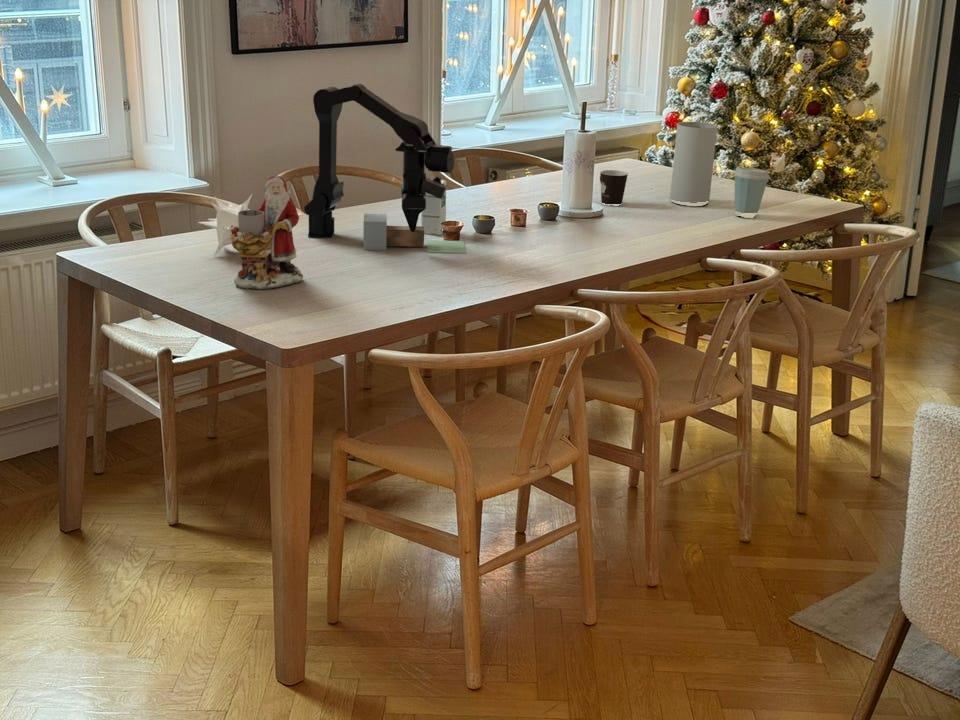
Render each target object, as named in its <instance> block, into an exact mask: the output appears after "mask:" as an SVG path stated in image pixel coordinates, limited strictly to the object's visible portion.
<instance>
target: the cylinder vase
mask: <svg viewBox="0 0 960 720" xmlns="http://www.w3.org/2000/svg"><path fill="white" fill-rule="evenodd" d="M675 133H676V134H675V144H674V154H673V163H672V175H671V185H670V193H669V200H670V199H672V200H675V201H680V202H690V203H697V202H706V201H709V202H710V199H711V198H710V197H711V187H712V178H713V170H714V160H715V152H716V144H717V143H716V142H717V134H718V125H717V124H713V123H710V122H701V121H680V122H678V123H677V124H676V132H675Z"/></svg>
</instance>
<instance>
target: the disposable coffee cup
mask: <svg viewBox="0 0 960 720" xmlns="http://www.w3.org/2000/svg"><path fill="white" fill-rule="evenodd" d="M733 175H734V212H735V211H737V212H741V213H757V212H758V213H759V210H760V207H761V203H762V200H763V197H764V193H765V190H766V187H767V183H768V180H769V179H770V175H769V173H768V171H767V170H765V169H760V168H753V167H736V170H734V173H733ZM758 213H757V214H758Z"/></svg>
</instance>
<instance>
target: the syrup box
mask: <svg viewBox="0 0 960 720" xmlns="http://www.w3.org/2000/svg"><path fill="white" fill-rule="evenodd" d="M441 183H442V184H444V185H446V186H447V180H446V179H441ZM423 196H424V197H425V198H426V208H425V210H424V211H422V212H421V213H420V214H421V222H420V223H421V226H424V235H435V236H441V235H442V234H443V233H444V232H442V226H441V223H442V222H444V221H447V220H446V212H447V211H446V210H447V209H446V207H447V206H446V203H447V202H446V201H447V189H446V190H445V192H444V195H443V197H442V199H439V198H437V197H436V196H433V195H431V194H428V193H426V195H423Z"/></svg>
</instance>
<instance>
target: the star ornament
mask: <svg viewBox="0 0 960 720" xmlns="http://www.w3.org/2000/svg"><path fill="white" fill-rule="evenodd" d="M252 196H253V194H250V196H249V197H248V198H247V199H246V201H244V202H243V203H242V204H237V205H233V206H231V207H228V206H227V205H226V204H224V202H223V201H221V200H220V199H219V198H218V197H216V196H215V195H214V196H213V198H214V199H215V201H216V202H217V205H216V204H214V203H213V202H210V203H211V205H212V207H213V208H214V209H215V211H216V218H207V220H208V221H198V222H197V223H198V224H201V225H205V226H207V227H209V228H213V229H215V230H216V235H217V236H216V237H217V241H218V242H217V243H218V246H217V247H216V251H215V253H214V256H213V257H215V256H216V255H217V254H218V253H219V252H220V251H221V249H223V247H226V246H229V245H232V240H231V238H230V235H231V233H232V232H231V226H233V227H239V226H238V212H240V211H243V210H249V203H250V201H251V198H252Z"/></svg>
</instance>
